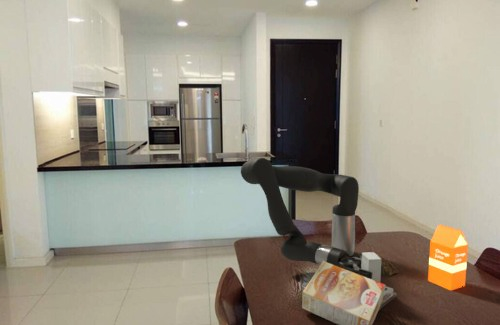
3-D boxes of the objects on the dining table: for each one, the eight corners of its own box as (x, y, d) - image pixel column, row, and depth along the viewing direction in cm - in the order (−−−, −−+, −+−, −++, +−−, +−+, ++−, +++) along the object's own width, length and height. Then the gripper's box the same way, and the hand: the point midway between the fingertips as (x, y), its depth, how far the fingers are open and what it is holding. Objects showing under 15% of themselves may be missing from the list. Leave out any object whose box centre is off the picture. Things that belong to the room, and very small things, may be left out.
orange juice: (450, 290, 126) (454, 232, 124) (427, 280, 134) (430, 225, 131) (465, 285, 130) (469, 229, 127) (442, 276, 137) (445, 222, 135)
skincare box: (359, 287, 123) (361, 252, 122) (372, 287, 124) (374, 251, 122) (366, 296, 117) (368, 259, 116) (380, 296, 118) (382, 259, 116)
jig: (359, 284, 131) (359, 275, 131) (396, 296, 122) (396, 287, 121) (337, 297, 121) (337, 288, 121) (375, 312, 112) (376, 302, 112)
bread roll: (356, 270, 143) (356, 257, 143) (371, 261, 152) (371, 249, 152) (389, 280, 135) (390, 266, 134) (403, 270, 144) (403, 257, 143)
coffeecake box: (323, 259, 119) (386, 283, 110) (321, 276, 123) (383, 301, 113) (302, 291, 108) (370, 321, 99) (301, 308, 112) (367, 339, 102)
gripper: (320, 252, 124) (366, 267, 113) (343, 242, 134) (388, 255, 123) (319, 274, 125) (365, 291, 114) (342, 262, 135) (387, 277, 124)
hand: (377, 272), depth 118 cm, fingers closed on skincare box, 7 cm apart
